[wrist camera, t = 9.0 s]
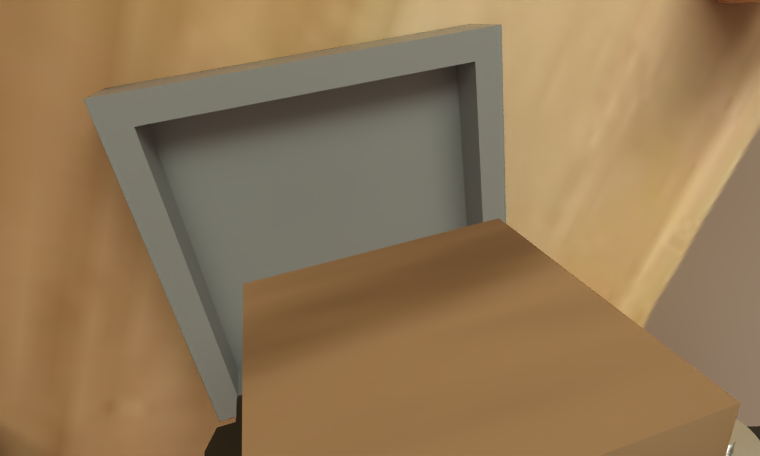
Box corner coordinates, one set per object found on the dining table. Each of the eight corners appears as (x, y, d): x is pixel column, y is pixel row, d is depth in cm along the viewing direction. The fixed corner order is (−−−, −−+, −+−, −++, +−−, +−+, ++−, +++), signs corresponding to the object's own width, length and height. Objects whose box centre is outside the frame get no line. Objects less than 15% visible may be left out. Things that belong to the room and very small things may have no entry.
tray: (105, 88, 15) (83, 99, 13) (470, 24, 17) (501, 24, 15) (222, 381, 21) (219, 421, 19) (484, 303, 23) (508, 332, 21)
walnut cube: (243, 283, 10) (240, 588, 4) (498, 218, 11) (740, 403, 6) (303, 469, 12) (346, 800, 7) (504, 401, 13) (672, 646, 8)
